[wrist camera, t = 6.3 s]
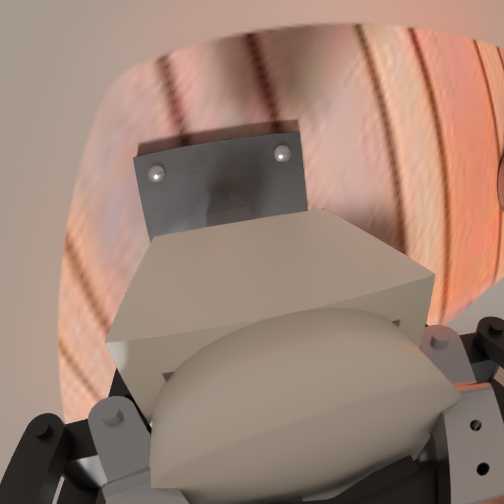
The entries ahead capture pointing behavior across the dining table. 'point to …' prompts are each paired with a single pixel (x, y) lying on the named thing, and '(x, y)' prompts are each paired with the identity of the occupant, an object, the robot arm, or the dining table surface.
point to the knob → (278, 358)
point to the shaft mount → (221, 182)
